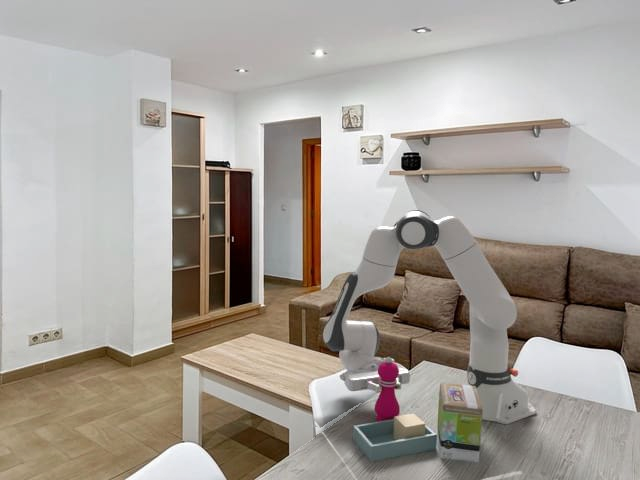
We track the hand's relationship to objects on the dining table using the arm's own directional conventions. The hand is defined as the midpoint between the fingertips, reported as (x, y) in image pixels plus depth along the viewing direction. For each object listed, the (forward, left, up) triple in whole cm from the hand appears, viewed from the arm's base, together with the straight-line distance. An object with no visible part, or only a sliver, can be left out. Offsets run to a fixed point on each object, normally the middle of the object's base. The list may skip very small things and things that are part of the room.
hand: (389, 388), depth 135 cm
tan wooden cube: (-1, +10, -11) cm, 15 cm away
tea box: (-12, +16, -12) cm, 23 cm away
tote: (+4, +10, -11) cm, 16 cm away
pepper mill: (0, -1, -11) cm, 11 cm away
